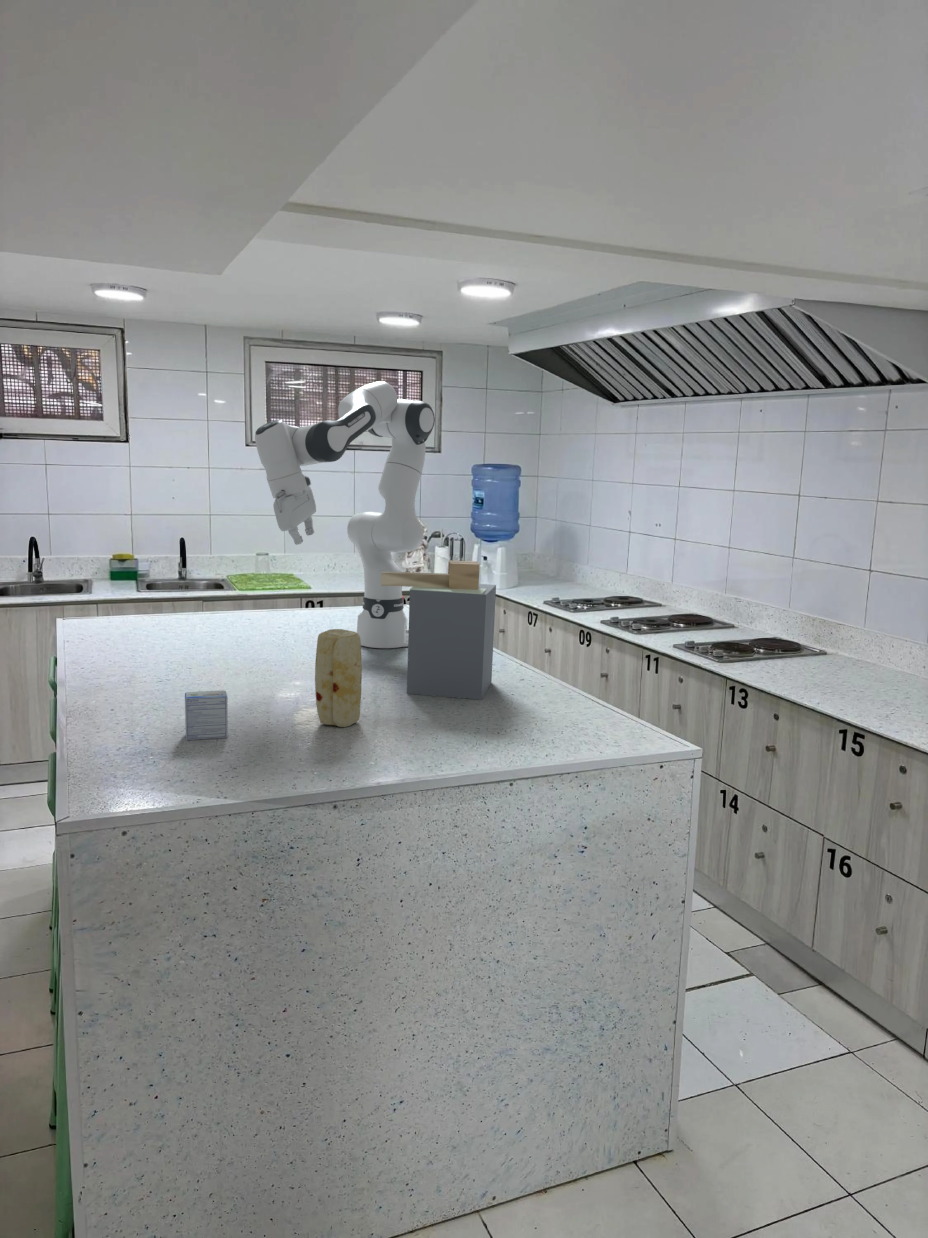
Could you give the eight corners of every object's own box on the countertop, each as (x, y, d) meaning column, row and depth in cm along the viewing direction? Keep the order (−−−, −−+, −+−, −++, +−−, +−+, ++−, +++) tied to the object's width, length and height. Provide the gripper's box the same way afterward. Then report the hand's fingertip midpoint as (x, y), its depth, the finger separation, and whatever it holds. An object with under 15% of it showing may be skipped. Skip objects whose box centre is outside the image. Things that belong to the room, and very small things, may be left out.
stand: (422, 676, 226) (425, 579, 222) (491, 682, 223) (496, 584, 219) (406, 693, 210) (409, 588, 205) (481, 699, 207) (486, 593, 202)
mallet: (381, 583, 212) (381, 558, 211) (476, 585, 214) (477, 561, 213) (380, 586, 206) (381, 561, 205) (478, 589, 208) (479, 564, 207)
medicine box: (226, 731, 176) (226, 689, 174) (228, 738, 172) (227, 695, 170) (185, 734, 173) (184, 691, 172) (185, 741, 169) (185, 697, 168)
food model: (356, 718, 189) (358, 626, 185) (365, 727, 183) (367, 632, 179) (311, 721, 185) (312, 627, 181) (318, 730, 179) (319, 634, 175)
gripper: (286, 491, 211) (304, 546, 215) (311, 476, 230) (327, 527, 234) (262, 498, 212) (280, 552, 216) (289, 482, 231) (305, 532, 235)
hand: (305, 539), depth 225 cm, fingers open, 8 cm apart
